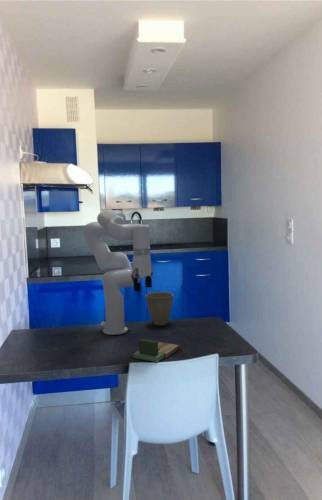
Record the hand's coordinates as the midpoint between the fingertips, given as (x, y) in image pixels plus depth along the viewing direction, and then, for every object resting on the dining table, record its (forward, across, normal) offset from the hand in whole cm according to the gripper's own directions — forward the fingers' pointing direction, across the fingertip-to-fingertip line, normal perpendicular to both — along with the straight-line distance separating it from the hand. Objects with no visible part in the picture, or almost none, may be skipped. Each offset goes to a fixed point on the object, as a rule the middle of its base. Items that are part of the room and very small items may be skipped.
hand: (143, 289), depth 205 cm
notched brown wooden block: (+26, +4, +10) cm, 28 cm away
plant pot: (+26, -34, -11) cm, 44 cm away
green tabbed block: (+26, +12, +10) cm, 31 cm away
